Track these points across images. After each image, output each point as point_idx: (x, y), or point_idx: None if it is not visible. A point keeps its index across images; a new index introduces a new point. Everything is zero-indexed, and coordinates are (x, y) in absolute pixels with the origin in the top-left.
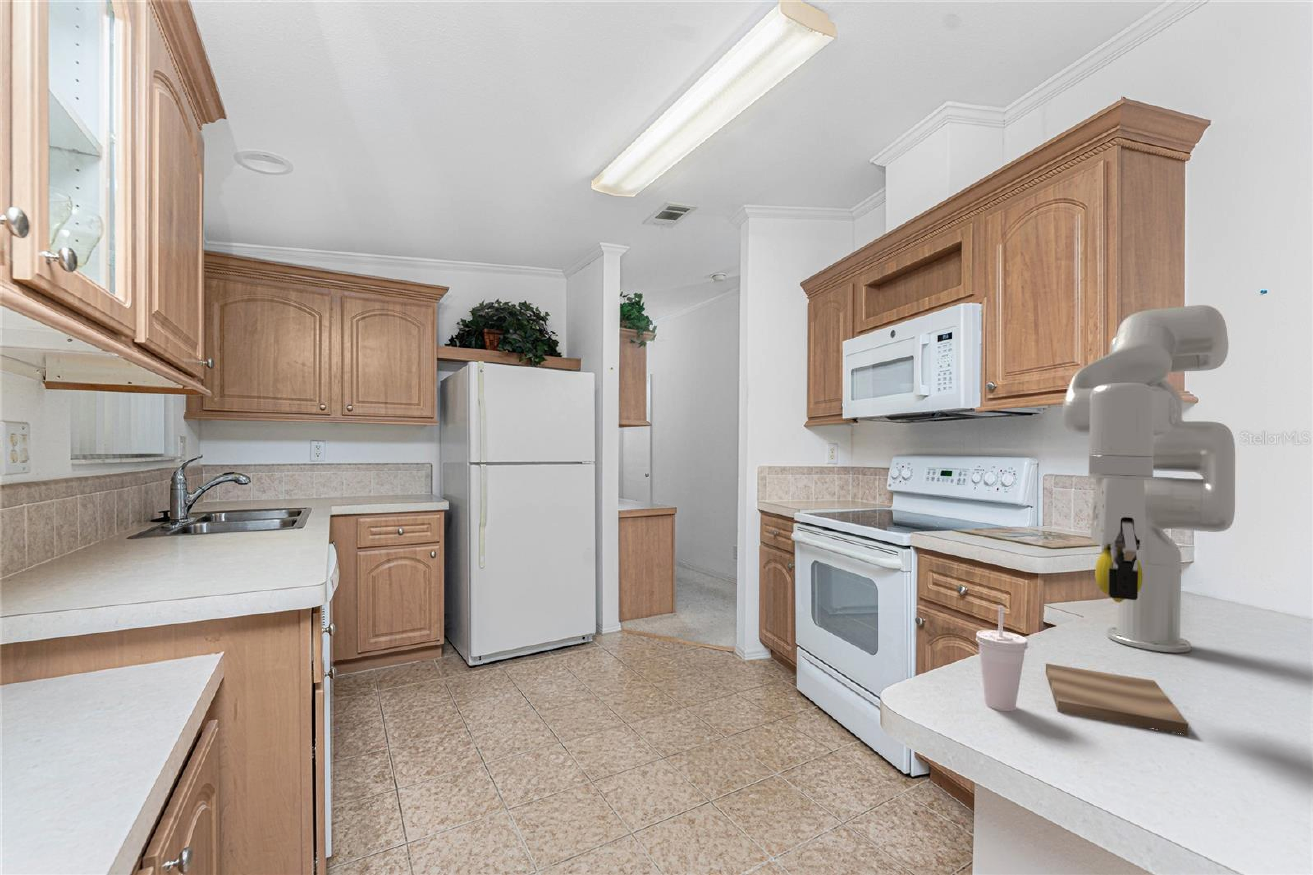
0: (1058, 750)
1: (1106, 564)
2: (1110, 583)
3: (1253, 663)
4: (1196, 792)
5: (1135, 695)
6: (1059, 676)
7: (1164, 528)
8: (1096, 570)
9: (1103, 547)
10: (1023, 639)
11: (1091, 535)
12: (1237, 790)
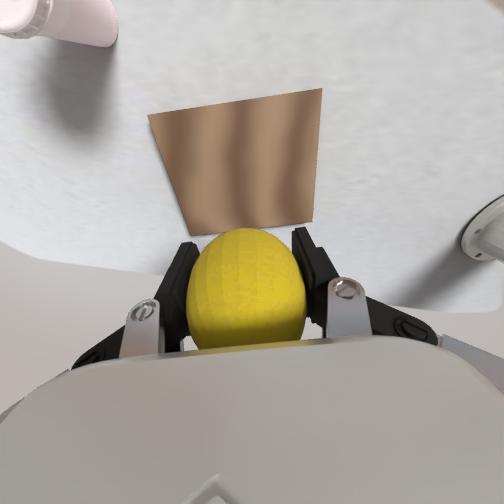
0: (25, 119)
1: (192, 294)
2: (172, 263)
3: (436, 289)
4: (72, 224)
5: (243, 202)
6: (261, 114)
7: None
8: (224, 251)
9: (333, 333)
10: (10, 17)
11: (408, 368)
12: (107, 245)
